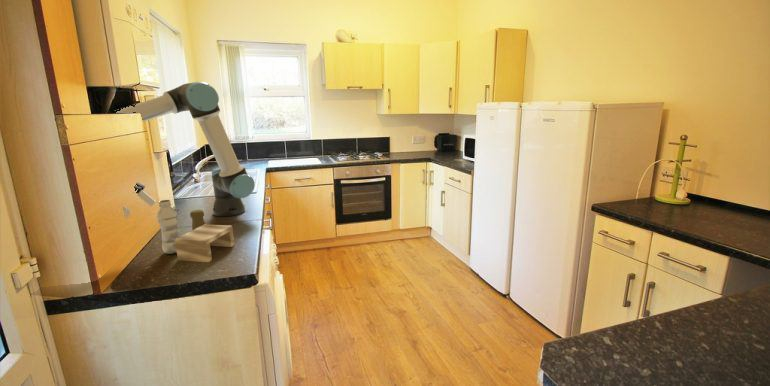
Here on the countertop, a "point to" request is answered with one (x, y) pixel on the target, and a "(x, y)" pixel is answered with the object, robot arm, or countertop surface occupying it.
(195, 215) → the cork
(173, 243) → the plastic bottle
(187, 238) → the birch shelf
